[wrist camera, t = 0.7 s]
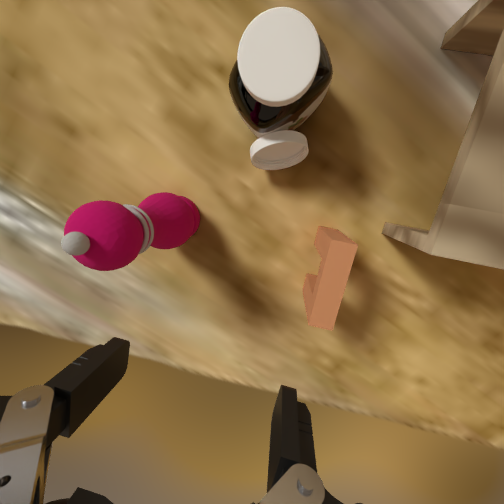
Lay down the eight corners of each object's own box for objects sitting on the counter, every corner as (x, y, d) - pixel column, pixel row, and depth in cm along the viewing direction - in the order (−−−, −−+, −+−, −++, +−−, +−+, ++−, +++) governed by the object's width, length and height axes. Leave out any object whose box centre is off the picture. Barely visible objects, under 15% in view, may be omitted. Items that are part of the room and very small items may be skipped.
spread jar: (298, 46, 31) (305, -38, 19) (347, 128, 32) (381, 95, 21) (219, 112, 33) (186, 73, 22) (268, 185, 35) (259, 183, 24)
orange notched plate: (318, 225, 35) (331, 239, 25) (337, 229, 35) (358, 244, 25) (302, 289, 37) (308, 325, 28) (320, 293, 37) (332, 330, 27)
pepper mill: (213, 216, 37) (133, 243, 17) (183, 251, 38) (81, 312, 19) (175, 181, 36) (49, 170, 17) (146, 219, 38) (4, 248, 19)
